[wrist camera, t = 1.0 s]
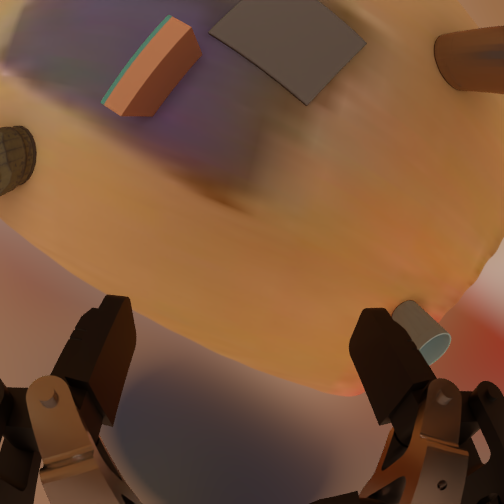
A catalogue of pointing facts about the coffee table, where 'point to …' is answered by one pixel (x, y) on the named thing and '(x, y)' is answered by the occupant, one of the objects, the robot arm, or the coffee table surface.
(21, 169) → the olive canister
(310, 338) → the coffee table surface
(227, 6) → the coffee table surface
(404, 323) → the cup
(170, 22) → the tile
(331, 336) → the coffee table surface
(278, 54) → the rest mat
